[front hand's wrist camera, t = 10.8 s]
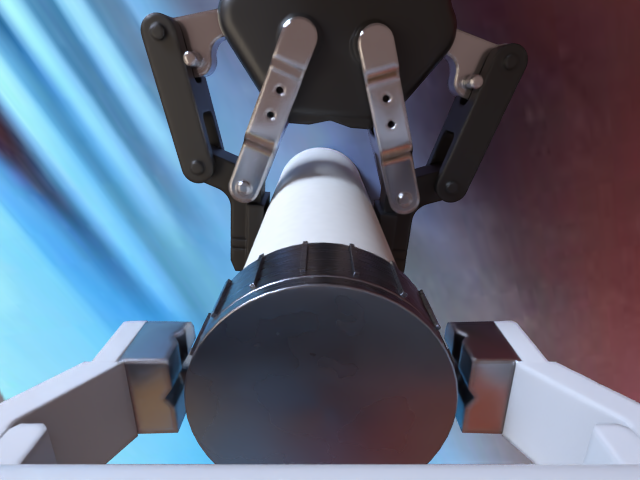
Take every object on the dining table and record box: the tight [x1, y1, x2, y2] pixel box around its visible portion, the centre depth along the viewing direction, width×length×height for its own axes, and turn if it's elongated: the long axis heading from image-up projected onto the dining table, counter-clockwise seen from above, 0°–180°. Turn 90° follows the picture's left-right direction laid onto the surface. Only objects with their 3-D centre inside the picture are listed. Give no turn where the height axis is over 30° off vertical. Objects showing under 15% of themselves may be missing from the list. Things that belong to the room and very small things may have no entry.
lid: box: [184, 241, 458, 464], centre depth 9 cm, size 5×5×2 cm
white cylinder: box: [244, 147, 397, 268], centre depth 17 cm, size 5×5×17 cm
